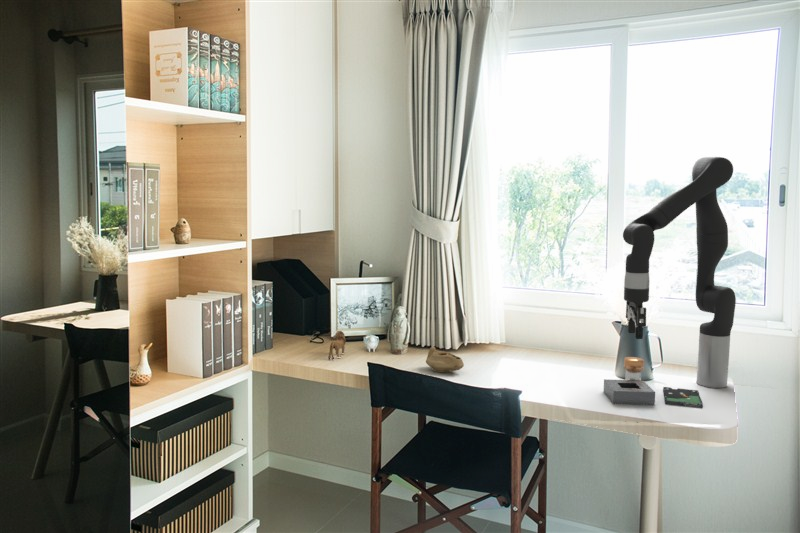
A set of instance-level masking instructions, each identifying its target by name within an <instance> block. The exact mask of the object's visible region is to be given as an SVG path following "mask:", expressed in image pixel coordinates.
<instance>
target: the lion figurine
mask: <svg viewBox="0 0 800 533" xmlns="http://www.w3.org/2000/svg"><path fill="white" fill-rule="evenodd" d="M334 334H335V335H333V336H332V338H333V339H334V340H333V341H331V342H330V346H329V352H328V358H331V360H333V359H334V360H335V357H334V352H333V351H334V350H335V353H336V358H337V357H341V356H340V355H339V354H340V353H339V352H340V349H341V354H342V353H345V346H346V341H347V340H346V335H345V333H344V331H343V330H337V331H336V332H335V333H334Z"/></svg>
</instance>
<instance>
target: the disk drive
mask: <svg viewBox="0 0 800 533" xmlns="http://www.w3.org/2000/svg"><path fill="white" fill-rule="evenodd" d="M662 388H663V389H662V393H663V397H664V399H663V400H664V404H665V405H669V406H677V407H678V406H679V407H689V408H696V409H697V408H699V409H703V402H702V398H701V395H700V392H699V390H697V389H688V388H679V387H678V388H672V387H669V386H668V387H667V386H663V387H662Z"/></svg>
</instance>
